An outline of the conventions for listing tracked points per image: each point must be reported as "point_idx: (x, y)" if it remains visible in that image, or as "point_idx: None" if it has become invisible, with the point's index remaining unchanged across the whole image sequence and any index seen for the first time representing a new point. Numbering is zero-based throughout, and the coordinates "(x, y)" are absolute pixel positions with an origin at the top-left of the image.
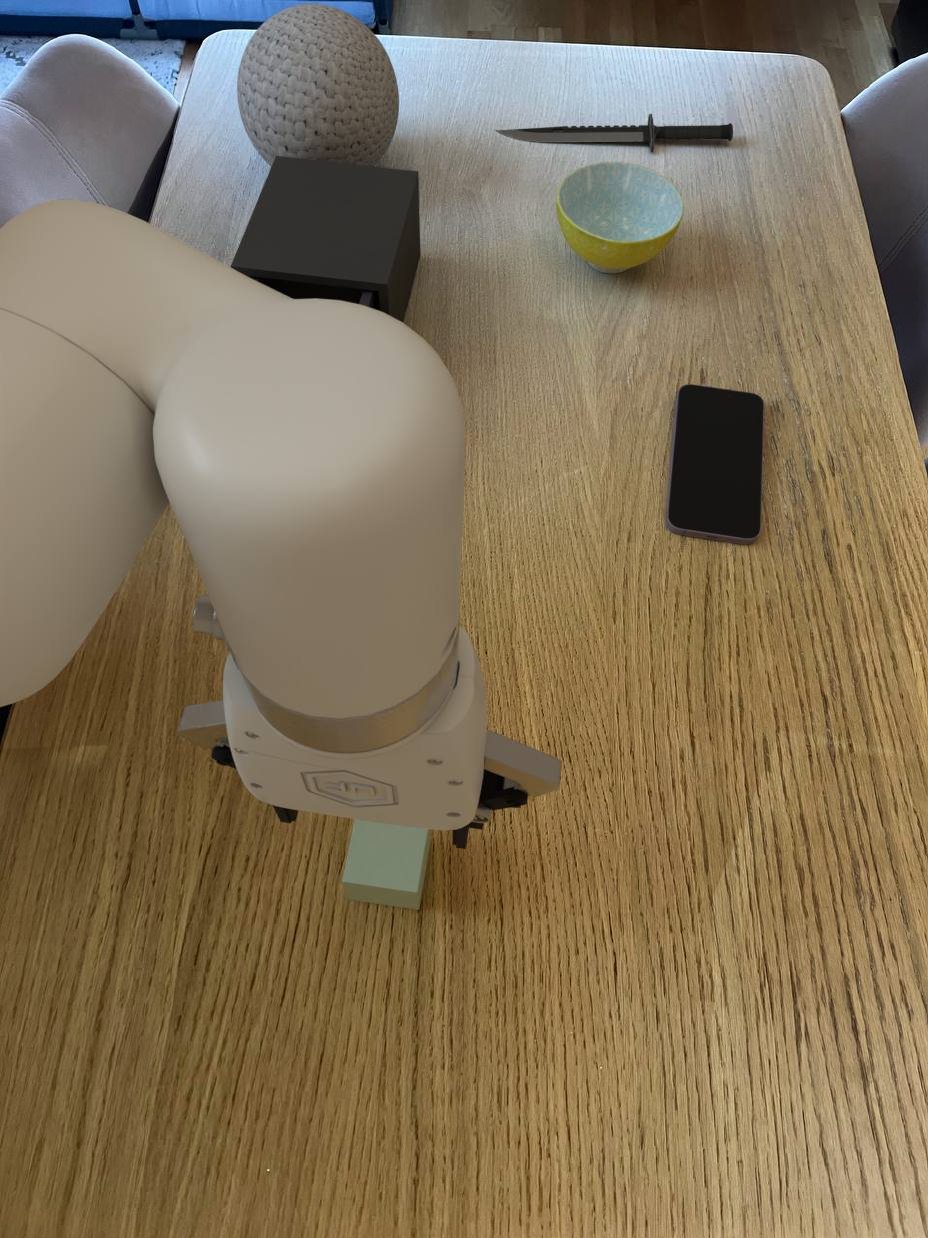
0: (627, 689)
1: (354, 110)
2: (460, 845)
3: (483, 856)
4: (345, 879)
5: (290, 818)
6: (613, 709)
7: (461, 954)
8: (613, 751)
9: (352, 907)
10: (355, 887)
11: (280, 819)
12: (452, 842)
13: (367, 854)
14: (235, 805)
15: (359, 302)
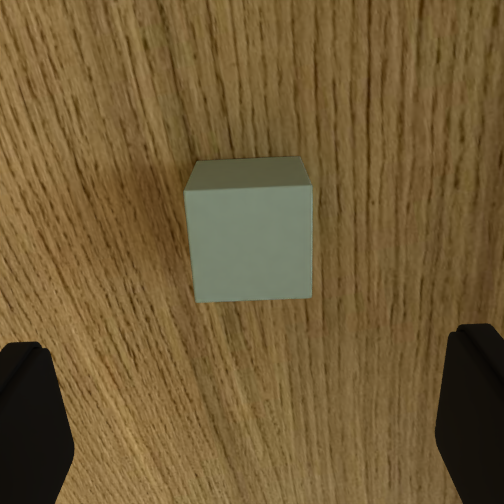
0: None
1: None
2: (7, 361)
3: (129, 247)
4: (307, 189)
5: (471, 345)
6: None
7: (120, 111)
8: None
9: (292, 146)
10: (289, 178)
11: (498, 337)
12: (33, 361)
13: (279, 234)
14: (484, 250)
15: None
